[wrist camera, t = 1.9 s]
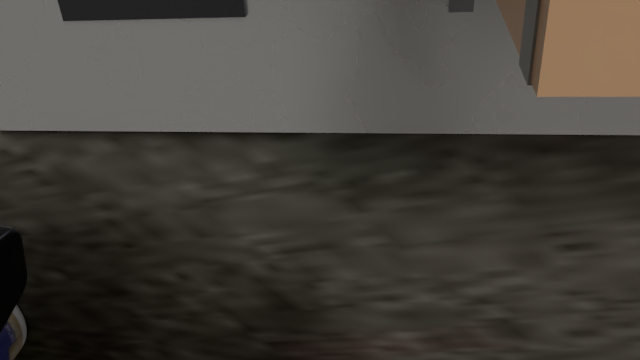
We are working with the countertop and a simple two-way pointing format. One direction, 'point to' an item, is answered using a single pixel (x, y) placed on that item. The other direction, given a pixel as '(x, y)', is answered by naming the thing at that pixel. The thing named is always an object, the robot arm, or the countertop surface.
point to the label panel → (279, 69)
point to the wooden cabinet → (577, 46)
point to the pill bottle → (13, 335)
